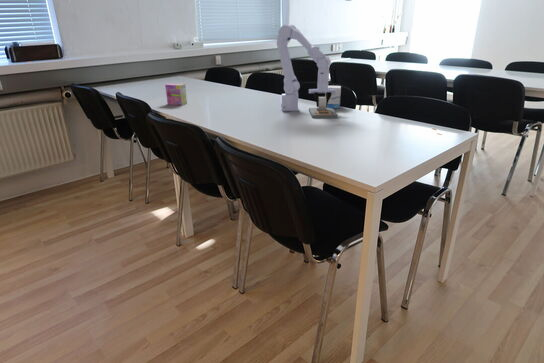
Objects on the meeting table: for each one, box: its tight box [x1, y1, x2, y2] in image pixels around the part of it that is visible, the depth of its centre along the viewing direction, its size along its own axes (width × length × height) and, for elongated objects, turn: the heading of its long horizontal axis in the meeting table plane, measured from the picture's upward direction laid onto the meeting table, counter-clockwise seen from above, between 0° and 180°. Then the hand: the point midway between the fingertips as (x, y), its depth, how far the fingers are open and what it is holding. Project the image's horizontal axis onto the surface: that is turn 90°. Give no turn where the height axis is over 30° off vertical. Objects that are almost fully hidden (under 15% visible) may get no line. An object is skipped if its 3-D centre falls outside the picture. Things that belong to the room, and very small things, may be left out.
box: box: [164, 82, 188, 106], centre depth 224 cm, size 10×6×12 cm, turn 68°
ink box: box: [324, 85, 342, 110], centre depth 216 cm, size 8×8×12 cm
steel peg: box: [317, 96, 326, 111], centre depth 203 cm, size 4×4×8 cm
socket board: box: [308, 107, 339, 119], centre depth 200 cm, size 13×18×2 cm
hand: (321, 106), depth 204 cm, fingers closed on steel peg, 4 cm apart
